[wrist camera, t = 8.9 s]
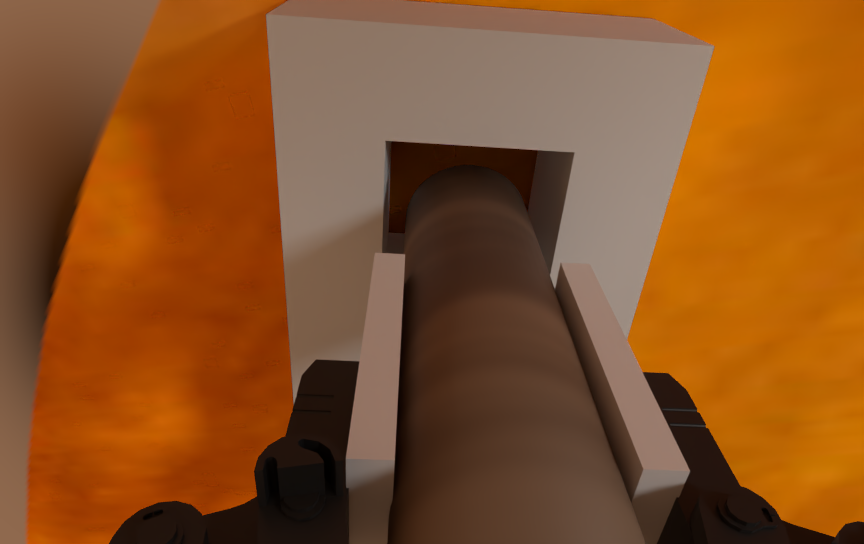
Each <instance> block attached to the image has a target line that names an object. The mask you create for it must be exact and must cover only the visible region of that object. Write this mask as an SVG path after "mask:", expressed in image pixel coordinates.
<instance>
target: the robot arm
mask: <svg viewBox="0 0 864 544" xmlns="http://www.w3.org/2000/svg"><path fill="white" fill-rule="evenodd" d="M404 269H405V254H390V253H375V256H374V263H373V270H372V277H371V284H370V291H369V298H368V305H367V312H366V319H365V326H364V333H363V341H362V348H361V355H360V361H342V360H319V359H316V360H315V361H314V362H313V363H312V364H311V365H310V366H309V368H308V369H307V370H306V371H305V372H304V373H303V374H302V376H301V380H300V383H299V387H298V391H297V397H296V399H295V402H294V406H293V412H292V414H291V417H290V421H289V425H288V429H287V433H286V436H285V437H282V438H280V439H279V440H277V441H275V442H274V443H272V444H270V445H269V446H268V447H267V448H266V449H265V450H264V451H263V452H262V454H261V455H260V456H259V457H258V460H257V463H256V467H255V470H254V473H255V481H256V489H257V497H255V498H254V499H252V500H250V501H248V502H247V503H245V504H242V505H240V506H237V507H234V508H231V509H227V510H223V511H219V512H215V513H211V514H207V515H203V516H202V514H201V513H200V512H199V511H198V510H197V509H196V508H194V507H193V506H192V505H190V504H186V503H182V502H178V501H171V502H160V503H157V504H154V505H151V506H149V507H146V508H144V509H141V510H140V511H138V512H137V513H135V514H134V515H133V516H131V517H130V518H129V519H127V520H126V521H125V522H124V523H123V524H122V525H121V527H120V528H119V529H118V531H117V532H116V533H115V534H114V536H113V537H112V539H111V541H110V543H109V544H387V541H388V523H389V513H390V507H391V504H392V501H393V485H394V465H395V445H396V426H397V406H398V386H399V367H400V347H401V328H402V308H403V288H404ZM555 291H556V294H557V297H558V300H559V302H560V305H561V308H562V311H563V314H564V316H565V319H566V322H567V325H568V328H569V330H570V333H571V336H572V339H573V342H574V344H575V347H576V350H577V353H578V356H579V358H580V361H581V364H582V367H583V370H584V372H585V375H586V378H587V381H588V384H589V386H590V389H591V392H592V395H593V398H594V400H595V403H596V406H597V409H598V412H599V414H600V417H601V420H602V423H603V426H604V428H605V431H606V434H607V437H608V440H609V442H610V445H611V448H612V451H613V454H614V456H615V459H616V462H617V465H618V468H619V470H620V473H621V476H622V479H623V482H624V484H625V487H626V490H627V493H628V496H629V498H630V501H631V504H632V507H633V510H634V512H635V515H636V518H637V521H638V524H639V526H640V529H641V532H642V535H643V538H644V540H645V543H646V544H864V522H859V521H857V522H853V523H848V524H845V525H844V526H843V528H842V529H841V530H840V531H839V532H838V534H837V535H836V537H832V536H829V535H826V534H822V533H819V532H816V531H813V530H809V529H806V528H803V527H799V526H796V525H793V524H790V523H788V522H785V521H783V520H781V519H780V517H779V515H778V514H777V512H776V510H775V509H774V508H773V507H772V506H771V505H770V504H769V503H768V502H767V501H766V500H764V499H763V498H762V497H761V496H759V495H757V494H756V493H754V492H752V491H751V490H749V489H747V488H744V487H741V486H740V485H739V483H738V481H737V479H736V478H735V476H734V474H733V472H732V470H731V469H730V467H729V465H728V463H727V461H726V460H725V458H724V456H723V454H722V453H721V451H720V449H719V447H718V445H717V444H716V442H715V440H714V438H713V436H712V435H711V433H710V431H709V429H708V428H706V427H705V425H706V424H705V422H704V420H703V419H702V417H701V415H700V413H698V412H697V408H696V406H695V404H694V402H693V401H692V399H691V397H690V395H689V394H688V392H687V390H686V389H685V388H684V387H683V386H682V385H680V384H679V383H678V382H677V381H676V380H675V379H674V378H673V377H672V376H670V375H669V374H668V373H649V372H642V370H641V368H640V366H639V364H638V362H637V360H636V358H635V356H634V354H633V352H632V350H631V348H630V346H629V344H628V342H627V339H626V337H625V335H624V333H623V331H622V329H621V327H620V325H619V323H618V321H617V319H616V317H615V315H614V313H613V311H612V308H611V306H610V304H609V302H608V300H607V298H606V296H605V294H604V292H603V290H602V288H601V286H600V284H599V282H598V280H597V277H596V275H595V273H594V271H593V269H592V267H591V265H590V264H581V263H562V262H561V263H560V268H559V272H558V277H557V282H556V287H555Z"/></svg>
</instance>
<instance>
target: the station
mask: <svg viewBox="0 0 864 544" xmlns="http://www.w3.org/2000/svg"><path fill="white" fill-rule="evenodd" d="M266 23H267V37H268V51H269V65H270V79H271V93H272V107H273V121H274V135H275V149H276V163H277V177H278V191H279V205H280V219H281V234H282V248H283V262H284V276H285V290H286V304H287V318H288V332H289V346H290V360H291V374H292V388H293V402H295V399H296V397H297V391H298V387H299V383H300V380H301V376H302V374H303V373H304V372H305V371H306V370H307V369H308V368H309V366H310V365H311V364H312V363H313V362H314V361H315V360H316V359H319V360H342V361H360V355H361V348H362V341H363V333H364V326H365V319H366V312H367V305H368V298H369V291H370V284H371V277H372V270H373V263H374V256H375V253H390V254H404V238H405V234H404V233H388V232H389V203H390V173H391V144H392V141H399V142H415V143H431V144H447V145H463V146H479V147H495V148H511V149H527V150H538V153H537V159H536V165H535V171H534V177H533V183H532V189H531V195H530V201H529V207H528V216H529V218H530V221H531V224H532V227H533V230H534V232H535V235H536V238H537V241H538V244H539V246H540V249H541V252H542V255H543V258H544V260H545V263H546V266H547V269H548V272H549V274H550V277H551V280H552V283H553V286H554V288H555V287H556V282H557V277H558V272H559V268H560V263H561V262H562V263H581V264H590V265H591V267H592V269H593V271H594V273H595V275H596V277H597V280H598V282H599V284H600V286H601V288H602V290H603V292H604V294H605V296H606V298H607V300H608V302H609V304H610V306H611V308H612V311H613V313H614V315H615V317H616V319H617V321H618V323H619V325H620V327H621V329H622V331H623V333H624V335H625V337H626V339H627V337H628V334H629V331H630V327H631V324H632V321H633V317H634V314H635V311H636V307H637V304H638V301H639V297H640V294H641V291H642V287H643V284H644V281H645V277H646V274H647V270H648V267H649V264H650V260H651V257H652V254H653V250H654V247H655V244H656V240H657V237H658V234H659V230H660V227H661V224H662V220H663V217H664V214H665V210H666V207H667V204H668V200H669V197H670V193H671V190H672V187H673V183H674V180H675V177H676V173H677V170H678V167H679V163H680V160H681V157H682V153H683V150H684V147H685V143H686V140H687V137H688V133H689V130H690V126H691V123H692V120H693V116H694V113H695V110H696V106H697V103H698V100H699V96H700V93H701V90H702V86H703V83H704V80H705V76H706V73H707V70H708V66H709V63H710V60H711V56H712V53H713V49H714V46H713V45H711V44H708V43H706V42H704V41H702V40H700V39H697V38H695V37H693V36H691V35H688V34H686V33H684V32H682V31H680V30H677V29H675V28H673V27H671V26H668V25H666V24H664V23H662V22H660V21H657V20H655V19H651V18H638V17H624V16H610V15H597V14H583V13H569V12H556V11H542V10H528V9H515V8H501V7H487V6H474V5H460V4H446V3H432V2H419V1H405V0H288V1H286V2H285V3H283V4H282V5H280V6H278V7H277V8H275V9H274V10H272V11H270V12H269V13H267V14H266Z"/></svg>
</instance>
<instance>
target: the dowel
mask: <svg viewBox="0 0 864 544" xmlns="http://www.w3.org/2000/svg"><path fill="white" fill-rule="evenodd" d="M404 254H405V269H404V288H403V308H402V328H401V347H400V367H399V386H398V406H397V426H396V445H395V465H394V485H393V501H392V504H391V507H390V513H389V523H388V541H387V544H646V543H645V540H644V538H643V535H642V532H641V529H640V526H639V524H638V521H637V518H636V515H635V512H634V510H633V507H632V504H631V501H630V498H629V496H628V493H627V490H626V487H625V484H624V482H623V479H622V476H621V473H620V470H619V468H618V465H617V462H616V459H615V456H614V454H613V451H612V448H611V445H610V442H609V440H608V437H607V434H606V431H605V428H604V426H603V423H602V420H601V417H600V414H599V412H598V409H597V406H596V403H595V400H594V398H593V395H592V392H591V389H590V386H589V384H588V381H587V378H586V375H585V372H584V370H583V367H582V364H581V361H580V358H579V356H578V353H577V350H576V347H575V344H574V342H573V339H572V336H571V333H570V330H569V328H568V325H567V322H566V319H565V316H564V314H563V311H562V308H561V305H560V302H559V300H558V297H557V294H556V291H555V288H554V286H553V283H552V280H551V277H550V274H549V272H548V269H547V266H546V263H545V260H544V258H543V255H542V252H541V249H540V246H539V244H538V241H537V238H536V235H535V232H534V230H533V227H532V224H531V221H530V218H529V216H528V213H527V210H526V207H525V204H524V202H523V199H522V197H521V195H520V193H519V191H518V190H517V188H516V187H515V186H514V184H513V183H512V182H511V181H510V180H509V179H507V178H506V177H505V176H503V175H502V174H500V173H499V172H497V171H495V170H492V169H490V168H487V167H483V166H478V165H459V166H453V167H449V168H446V169H443V170H441V171H439V172H437V173H435V174H433V175H432V176H430V177H429V178H428V179H426V180H425V181H424V182H423V183H422V184H421V185H420V186H419V187H418V188H417V190H416V191H415V192H414V194H413V196H412V197H411V200H410V202H409V204H408V208H407V212H406V221H405V238H404Z"/></svg>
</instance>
